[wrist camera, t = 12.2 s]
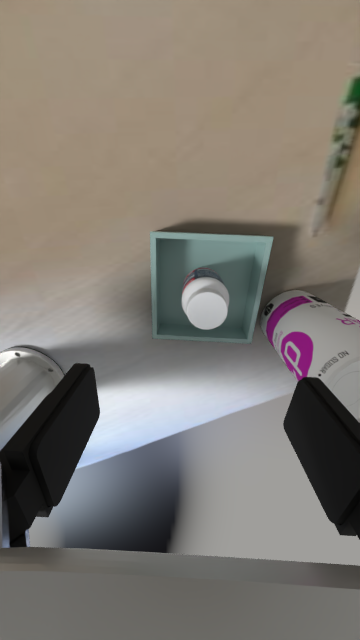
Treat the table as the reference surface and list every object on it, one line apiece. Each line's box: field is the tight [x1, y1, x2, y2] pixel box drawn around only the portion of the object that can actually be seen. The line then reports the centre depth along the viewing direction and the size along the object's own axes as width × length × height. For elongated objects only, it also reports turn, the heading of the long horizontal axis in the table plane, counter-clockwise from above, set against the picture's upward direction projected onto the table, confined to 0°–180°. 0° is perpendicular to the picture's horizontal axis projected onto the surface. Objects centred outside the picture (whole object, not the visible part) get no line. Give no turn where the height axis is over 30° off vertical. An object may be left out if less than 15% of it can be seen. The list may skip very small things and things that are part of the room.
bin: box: [150, 231, 273, 344], centre depth 27 cm, size 13×13×4 cm
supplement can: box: [260, 290, 360, 423], centre depth 23 cm, size 8×8×15 cm
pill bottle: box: [182, 267, 229, 330], centre depth 24 cm, size 5×5×9 cm
